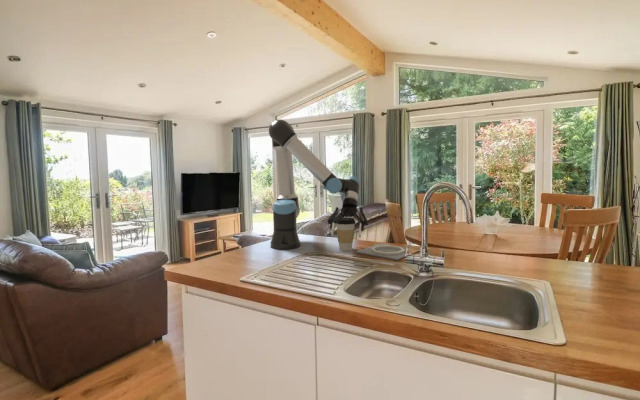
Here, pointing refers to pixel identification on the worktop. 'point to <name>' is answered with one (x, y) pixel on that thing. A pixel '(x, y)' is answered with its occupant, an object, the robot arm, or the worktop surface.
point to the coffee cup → (345, 233)
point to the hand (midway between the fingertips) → (345, 235)
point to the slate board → (384, 251)
